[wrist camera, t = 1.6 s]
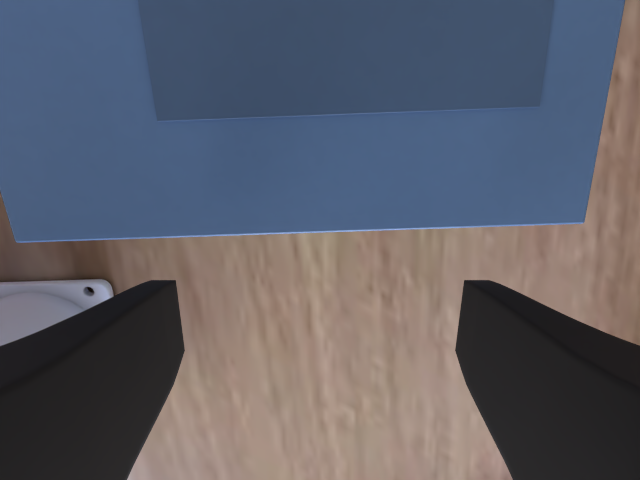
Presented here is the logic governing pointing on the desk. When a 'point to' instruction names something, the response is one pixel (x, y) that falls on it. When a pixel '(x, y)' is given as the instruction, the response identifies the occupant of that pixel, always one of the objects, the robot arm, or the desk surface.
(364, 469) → the desk surface
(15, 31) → the lid
